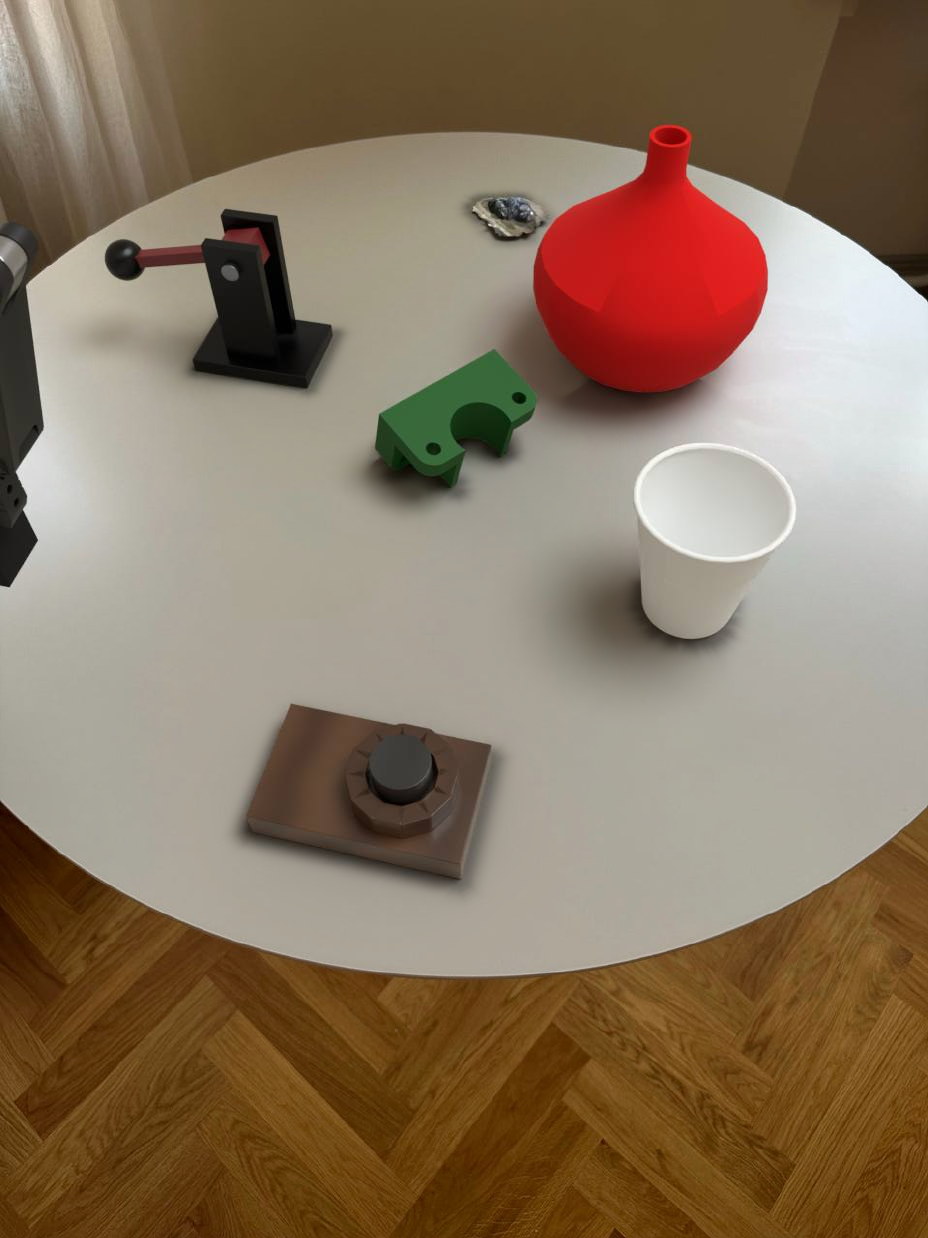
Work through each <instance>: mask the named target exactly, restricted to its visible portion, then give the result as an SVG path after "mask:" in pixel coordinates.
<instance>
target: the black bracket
mask: <svg viewBox="0 0 928 1238" xmlns="http://www.w3.org/2000/svg"><path fill="white" fill-rule="evenodd" d="M220 221H221V225H222V229H223V234H224V235H225V233H226V232H227V230H236V229H248V228H259V230H260V232H261V234H262V237H263V239H264V242H265V244H266V246H267V249H268V251H269V253H270V255H269V257H268V259H267V261H266V262H265V264H264V265H263V260H262V255H261V250H260V245H253V244H246V243H239V242H232V241H225V240H221V239H217V238H209V237H205V238H204V239H203V241H202V242H201V244H200V245H201V249H202V253H203V257H204V261H205V263H204V265H205V269H206V273H207V276H208V281H209V285H210V290H211V294H212V297H213V301H214V306H215V310H216V314H217V317H216V319H215V320H214V322H213V324H212V325H211V328H210V329H209V331H208V332H207V335H206V336H205V337H204V339H203V341H202V342H201V345H200V346H199V347H198V350H197V351H196V353H195V354H194V356H193V358H192V364H193V367H194V370H195V371H197V372H203V373H209V374H216V375H222V376H228V377H235V378H240V379H247V380H254V381H260V382H266V383H272V384H278V385H285V386H291V387H298V388H304V389H307V388H308V387H309V385H310V383H311V381H312V380H313V377H314V375H315V373H316V371H317V369H318V367H319V365H320V364H321V361H322V359H323V356H324V354H325V352H326V351H327V348H328V347H329V345H330V342H331V340H332V339H333V337H334V333H333V327H332V324H329V323H324V322H323V323H322V322H316V321H309V320H303V319H297V318H296V315H295V309H294V303H293V297H292V292H291V287H290V280H289V274H288V269H287V263H286V258H285V257H286V256H285V251H284V245H283V240H282V234H281V229H280V227H281V226H280V224H279V223H280V222H279V217H278V215H275V214H268V213H261V212H253V211H247V210H246V211H245V210H240V209H239V210H238V209H231V208H224V209H223V210H222V211H221V213H220Z"/></svg>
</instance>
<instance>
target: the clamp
mask: <svg viewBox="0 0 928 1238" xmlns="http://www.w3.org/2000/svg"><path fill="white" fill-rule="evenodd" d="M537 404H538V396H537V394H536V392H535V390H534V389H533V388H532V387H531V386H530V385H529V384H528V383H527V382H526V381H525V379H524V378H522V376H520V374H519V373H518V372H517V371H516V370H515V369H514V368H513V367H512V366H511V365H510V363H508V361H506V359H505V358H504V357H503V356H502V355H501V354H500V353H499V352H498V351H497V350H496V348H493V349H492V350H490V351H488V352H486V353H484V354H482V355H481V356H479V357H477V358H475V359H473V360H472V361H470V362H468V363H466V364H464V365H463V366H462V367H459V368H458V369H456V370H454V371H452V372H451V373H449V374H447V375H445V376H443V377H442V378H440V379H438V380H436V381H435V382H433V383H431V384H429V385H427V386H426V387H424V388H422V389H420V390H418V391H417V392H415V393H413V394H412V395H410V396H408V397H406V398H404V399H403V400H401V401H400V402H398V403H396V404H394V405H392V406H391V407H388V408H387V409H385V410H383V411H382V412H379V414H378V417H377V428H376V434H375V442H374V449H375V451H376V452H377V453H378V455H379V456H380V457H381V458H382V460H384V462H385V463H386V464H387V465H388V467H390V469H391V470H393V471H399V470H402V469H403V468H405V467H407V466H409V465H412V466H413V467H414V469H415V470H416V471H417V472H419V474H422V475H424V476H427V477H436V476H440V477H441V478H442V479H443V480H444V481H445V482H446V484H447V485H448V486H449V488H453V487H454V486H456V485H458V481H459V477H460V473H461V469H462V465H463V461H464V458H465V455H466V449H465V448H463V447H462V446H461V445H460V444H458V442H457V441H458V440H462V439H478V440H480V441H483V442H485V443H487V444H489V445H490V446H491V447H492V448H493V449H494V450H495V451H496V453H498V455H499V457H500V458H502V457H503V456H505V455H507V451H508V449H509V445H510V442H511V440H512V439H511V438H512V436H513V433H514V430H516V429H518V428H519V427H521V426H522V425H524V424H526V423H528V422H529V421H530V420H531V419H532V417H533V416H534V413H535V409H536V407H537Z"/></svg>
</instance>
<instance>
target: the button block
mask: <svg viewBox="0 0 928 1238" xmlns="http://www.w3.org/2000/svg"><path fill="white" fill-rule="evenodd" d="M400 734H404V735H410V736H413V737H416V738H418V739H419V740H421V741H422V742H423V743H424V744H425V745H426V746H427V747H428V749H429V751H430V753H431V757H432V770H433V778H432V782H431V785H430V787H429V789H428V790H427V791H426V792H425V793H424V794H423V795H422V796H421V797H419V798H418V799H416V800H414V801H411V802H407V803H395V802H391V801H388V800H386V799H384V798H383V797H381V796H380V795H379V794H378V793H377V792H376V790H375V789H374V787H373V784H372V780H371V774H370V768H369V759H370V755H371V753H372V751H373V749H374V748H375V746H376V745H377V744H378V743H379V742H381V741H382V740H384V739H385V738H387V737H390V736H393V735H400ZM491 764H492V744H489V743H486V742H485V743H484V742H479V741H476V740H470V739H466V738H461V737H455V736H451V735H446V734H441V733H436V732H435V731H434V730H432V729H431V728H428V727H423V726H418V725H414V724H408V723H401V722H400V723H398V724H393V723H387V722H382V721H378V720H373V719H368V718H364V717H358V716H354V715H348V714H344V713H339V712H334V711H330V710H329V711H328V710H324V709H320V708H315V707H309V706H305V705H299V704H295V703H290V705H289V707H288V710H287V712H286V715H285V717H284V720H283V723H282V725H281V728H280V731H279V732H278V735H277V738H276V740H275V743H274V745H273V748H272V750H271V753H270V755H269V758H268V761H267V763H266V766H265V768H264V769H263V774H262V776H261V778H260V780H259V783H258V785H257V788H256V791H255V793H254V795H253V799H252V800H251V803H250V806H249V809H248V811H247V814H246V819H247V821H248V824H249V827H250V829H251V832H252V833H255V834H259V835H265V836H268V837H272V838H273V837H274V838H277V839H281V840H286V841H291V842H295V843H298V844H303V845H308V846H312V847H316V848H321V849H325V850H330V851H335V852H339V853H343V854H346V855H347V854H348V855H352V856H356V857H360V858H366V859H370V860H375V861H379V862H383V863H387V864H392V865H396V866H401V867H404V868H405V867H406V868H410V869H414V870H419V871H421V872H427V873H431V874H436V875H440V876H445V877H449V878H454V879H458V880H462V878H463V875H464V870H465V866H466V862H467V859H468V856H469V855H468V854H469V851H470V846H471V843H472V839H473V835H474V832H475V827H476V823H477V820H478V815H479V812H480V807H481V804H482V801H483V795H484V792H485V788H486V785H487V780H488V777H489V773H490V768H491Z"/></svg>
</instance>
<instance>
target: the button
mask: <svg viewBox="0 0 928 1238" xmlns="http://www.w3.org/2000/svg"><path fill="white" fill-rule="evenodd" d="M369 768H370V774H371V780H372V784H373V787H374V789H375V790H376V792H377V793H378V794H379V795H380V796H381V797H383V798H384V799H386V800H388V801H391V802H395V803H407V802H411V801H414V800H416V799H418V798H419V797H421V796H422V795H423V794H424V793H425V792H426V791H427V790H428V789H429V787H430V785H431V782H432V778H433V770H432V757H431V753H430V751H429V749H428V747H427V746H426V745H425V744H424V743H423V742H422V741H421V740H419V739H418V738H416V737H413V736H410V735H404V734H400V735H393V736H390V737H387V738H385V739H384V740H382V741H381V742H379V743H378V744H377V745H376V746H375V748H374V749H373V751H372V753H371V755H370V759H369Z"/></svg>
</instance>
